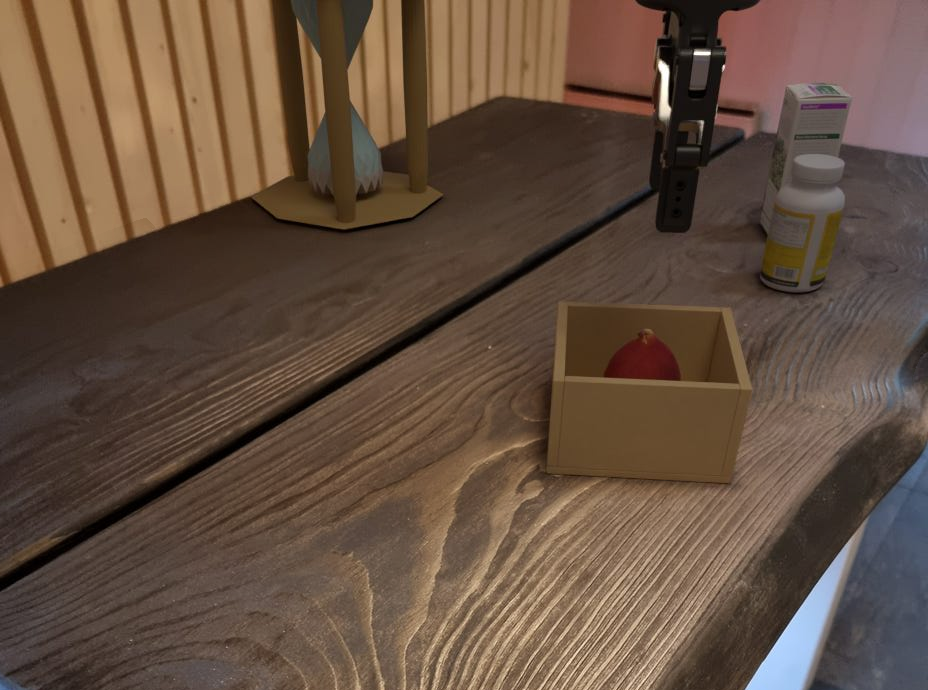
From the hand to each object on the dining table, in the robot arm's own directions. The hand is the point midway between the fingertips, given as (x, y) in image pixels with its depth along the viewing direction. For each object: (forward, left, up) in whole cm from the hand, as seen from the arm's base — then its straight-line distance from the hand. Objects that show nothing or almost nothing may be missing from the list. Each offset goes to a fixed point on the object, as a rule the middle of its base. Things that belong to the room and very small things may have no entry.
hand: (667, 208), depth 62 cm
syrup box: (-19, -47, -17) cm, 54 cm away
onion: (0, 0, -17) cm, 17 cm away
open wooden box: (0, 0, -17) cm, 17 cm away
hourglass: (+34, -54, -17) cm, 66 cm away
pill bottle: (-17, -32, -17) cm, 40 cm away
